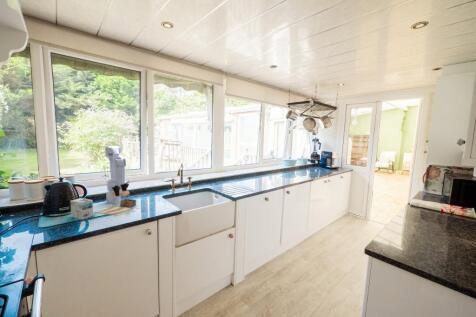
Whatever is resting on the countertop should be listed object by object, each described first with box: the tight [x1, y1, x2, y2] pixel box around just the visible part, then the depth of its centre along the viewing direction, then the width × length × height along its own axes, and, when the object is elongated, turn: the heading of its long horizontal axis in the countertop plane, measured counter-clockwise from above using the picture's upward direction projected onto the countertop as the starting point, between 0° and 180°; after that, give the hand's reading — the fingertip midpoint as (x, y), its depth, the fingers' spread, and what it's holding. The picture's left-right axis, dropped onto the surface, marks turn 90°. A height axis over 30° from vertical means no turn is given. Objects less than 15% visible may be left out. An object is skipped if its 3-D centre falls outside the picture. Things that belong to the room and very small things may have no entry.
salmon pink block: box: [112, 190, 130, 198], centre depth 141 cm, size 9×5×3 cm, turn 79°
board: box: [94, 205, 135, 216], centre depth 137 cm, size 18×14×1 cm
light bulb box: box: [70, 197, 94, 220], centre depth 126 cm, size 11×7×11 cm, turn 71°
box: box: [119, 198, 137, 208], centre depth 148 cm, size 9×5×4 cm, turn 78°
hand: (120, 195), depth 141 cm, fingers closed on salmon pink block, 5 cm apart
